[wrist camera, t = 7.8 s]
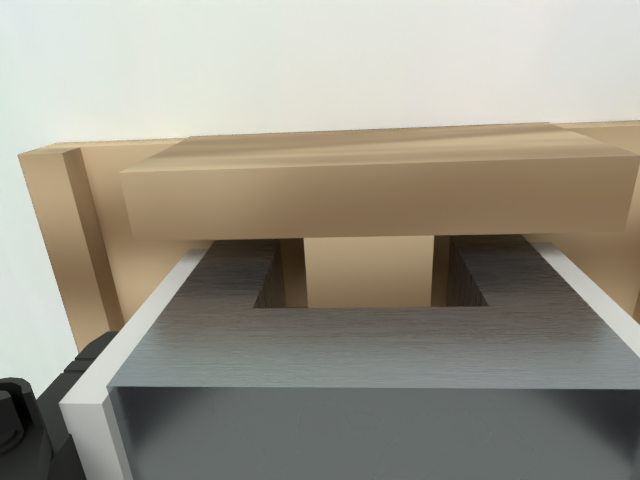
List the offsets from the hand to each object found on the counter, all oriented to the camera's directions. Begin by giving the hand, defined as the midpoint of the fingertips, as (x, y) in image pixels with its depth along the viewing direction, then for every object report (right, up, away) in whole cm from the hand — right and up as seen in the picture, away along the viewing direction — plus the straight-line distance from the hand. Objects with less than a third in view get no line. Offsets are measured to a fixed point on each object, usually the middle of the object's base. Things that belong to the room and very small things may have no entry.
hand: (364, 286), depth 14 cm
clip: (0, 0, 0) cm, 0 cm away
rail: (0, +1, +3) cm, 3 cm away
